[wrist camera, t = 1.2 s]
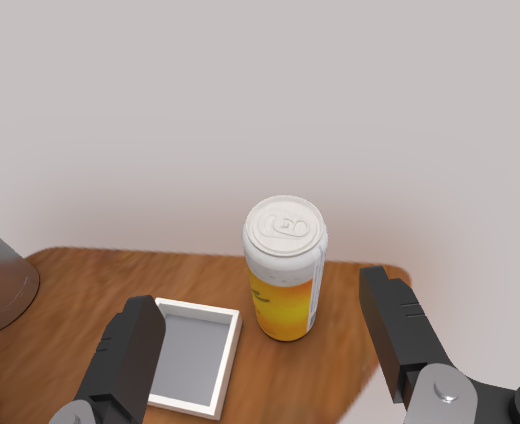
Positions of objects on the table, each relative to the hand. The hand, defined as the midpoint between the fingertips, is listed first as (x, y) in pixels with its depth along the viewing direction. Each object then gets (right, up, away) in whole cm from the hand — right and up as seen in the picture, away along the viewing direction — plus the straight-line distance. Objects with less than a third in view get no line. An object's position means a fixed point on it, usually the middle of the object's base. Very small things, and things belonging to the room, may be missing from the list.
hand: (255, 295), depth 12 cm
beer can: (+3, -7, +20) cm, 22 cm away
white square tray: (-7, -11, +18) cm, 22 cm away
